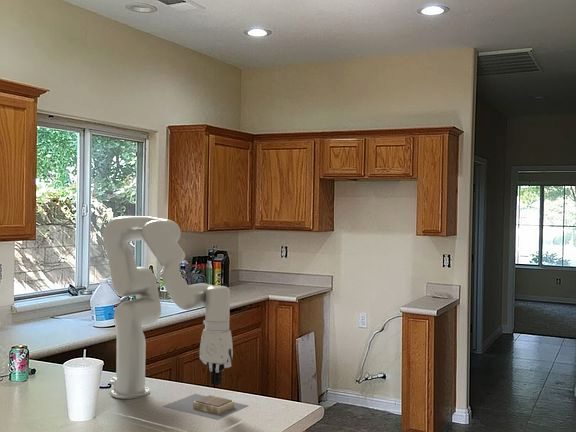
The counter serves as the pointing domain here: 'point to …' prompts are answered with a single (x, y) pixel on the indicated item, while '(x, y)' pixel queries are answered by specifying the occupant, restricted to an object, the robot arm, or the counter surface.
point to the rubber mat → (187, 406)
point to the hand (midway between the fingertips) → (216, 383)
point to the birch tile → (213, 404)
